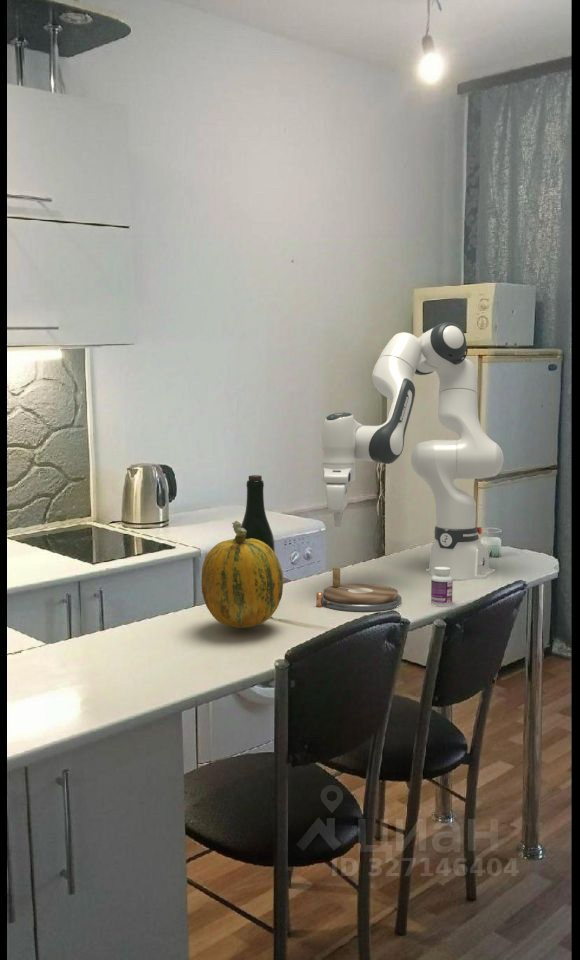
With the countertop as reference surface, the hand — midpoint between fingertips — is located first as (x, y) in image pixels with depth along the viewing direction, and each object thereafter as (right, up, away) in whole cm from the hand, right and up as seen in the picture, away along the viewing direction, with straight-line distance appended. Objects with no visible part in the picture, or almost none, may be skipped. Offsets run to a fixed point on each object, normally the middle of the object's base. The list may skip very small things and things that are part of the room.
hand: (338, 526), depth 247 cm
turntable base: (+5, -19, -9) cm, 22 cm away
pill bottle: (+26, -20, -12) cm, 34 cm away
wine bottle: (-22, -20, -11) cm, 31 cm away
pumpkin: (-24, -21, -32) cm, 45 cm away
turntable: (+5, -18, -9) cm, 21 cm away
